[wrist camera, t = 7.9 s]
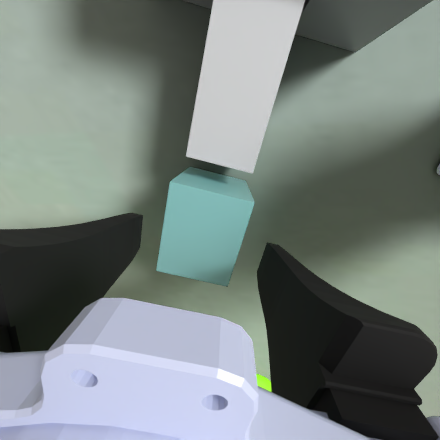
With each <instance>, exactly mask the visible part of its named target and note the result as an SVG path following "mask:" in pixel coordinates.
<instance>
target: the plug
mask: <svg viewBox="0 0 440 440" xmlns="http://www.w3.org/2000/svg"><path fill="white" fill-rule="evenodd" d="M304 2H305V0H213V5H212V11H211V16H210V22H209V28H208V33H207V39H206V45H205V50H204V56H203V62H202V67H201V73H200V79H199V84H198V90H197V96H196V101H195V107H194V113H193V119H192V124H191V130H190V136H189V141H188V147H187V153H186V157H190V158H194V159H198V160H202V161H206V162H210V163H213V164H217V165H221V166H225V167H229V168H233V169H237V170H241V171H245V172H248V173H252V174H253V171H254V168H255V164H256V161H257V158H258V155H259V151H260V148H261V145H262V141H263V138H264V135H265V131H266V128H267V125H268V121H269V118H270V115H271V112H272V108H273V105H274V102H275V98H276V95H277V92H278V88H279V85H280V82H281V78H282V75H283V72H284V69H285V65H286V62H287V59H288V55H289V52H290V49H291V45H292V42H293V39H294V35H295V32H296V29H297V26H298V22H299V19H300V16H301V12H302V9H303V6H304ZM254 204H255V202H254V199H253V197H252V195H251V192H250V190H249V187H248V185H247V183H246V181H245V180H241V179H237V178H233V177H229V176H225V175H221V174H217V173H213V172H210V171H206V170H202V169H198V168H194V167H189V168H187V169H186V170H185V171H183V172H182V173H181V174H179V175H178V176H177V177H175V178H174V179H173V180H171V181H170V185H169V191H168V198H167V204H166V210H165V217H164V223H163V230H162V236H161V243H160V249H159V256H158V262H157V269H156V271H159V272H164V273H168V274H173V275H177V276H182V277H186V278H191V279H195V280H200V281H204V282H209V283H213V284H217V285H222V286H226V287H228V284H229V281H230V278H231V275H232V272H233V269H234V265H235V262H236V259H237V256H238V253H239V250H240V247H241V244H242V241H243V238H244V235H245V231H246V228H247V225H248V222H249V219H250V216H251V213H252V210H253V207H254Z"/></svg>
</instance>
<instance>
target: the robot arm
mask: <svg viewBox="0 0 440 440" xmlns="http://www.w3.org/2000/svg"><path fill="white" fill-rule="evenodd" d="M437 173H438V175H440V164H439V166H438V168H437ZM142 218H143V215H139V214H134V213H128V214H122V215H118V216H114V217H109V218H105V219H101V220H96V221H91V222H87V223H82V224H76V225H69V226H61V227H52V228H37V229H0V440H440V416H431V417H427V418H426V417H425V416H424V415H423V413H422V412H421V410H420V409H419V407H418V406H417V405H421V404H422V399H421V398H420V397H419V395H418V394H417V393H416V391H415V390H414V388H415V387H416V386H417V385H418V384H419V383H420V382H421V381H422V380H423V379H424V377H425V376H426V375H427V374H428V373H429V372H430V371H431V369H432V368H433V367H434V365H435V363H436V359H437V348H436V346H435V345H434V343H433V342H432V341H431V340H430V339H429V338H428V337H427V336H426V335H425V334H424V333H423V332H422V331H421V330H420V329H419V328H418V327H417V326H416V325H414V324H411V323H409V322H406V321H404V320H401V319H399V318H396V317H394V316H391V315H389V314H386V313H384V312H382V311H379V310H377V309H375V308H373V307H371V306H369V305H366V304H364V303H362V302H360V301H358V300H356V299H354V298H352V297H351V296H349V295H347V294H345V293H343V292H341V291H340V290H338V289H336V288H335V287H333V286H331V285H330V284H328V283H327V282H325V281H324V280H322V279H321V278H319V277H318V276H316V275H315V274H314V273H312V272H311V271H310V270H308V269H307V268H306V267H305V266H303V265H302V264H301V263H300V262H298V261H297V260H296V259H295V258H294V257H293V256H291V255H290V254H289V253H288V252H287V251H285V250H284V249H283V248H282V247H280V246H279V245H276V244H271V243H267V245H266V248H265V250H264V253H263V256H262V259H261V262H260V265H259V268H258V271H257V280H258V289H259V294H260V299H261V304H262V308H263V313H264V318H265V323H266V329H267V338H268V348H269V360H270V374H271V392H270V391H268V390H266V389H264V388H262V387H259V386H258V385H257V377H256V368H255V359H254V350H253V341H252V339H251V338H250V337H249V335H248V334H247V333H246V331H245V330H244V329H243V328H242V326H240V325H238V324H235V323H233V322H231V321H228V320H226V319H224V318H221V317H217V316H212V315H207V314H202V313H197V312H192V311H187V310H183V309H178V308H173V307H168V306H163V305H158V304H153V303H148V302H143V301H138V300H133V299H128V298H103V296H104V295H105V294H106V292H107V291H108V290H109V288H110V287H111V286H112V285H113V284H114V282H115V281H116V280H117V279H118V277H119V276H120V275H121V274H122V273H123V271H124V270H125V269H126V268H127V266H128V265H129V264H130V263H131V261H132V260H133V258H134V257H135V255H136V253H137V252H138V250H139V248H140V242H141V230H142Z"/></svg>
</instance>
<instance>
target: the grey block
mask: <svg viewBox="0 0 440 440" xmlns="http://www.w3.org/2000/svg"><path fill="white" fill-rule="evenodd" d="M182 1H186V2H189V3H192V4H196V5H199V6H202V7H206V8H209V9H212V5H213V0H182ZM431 1H433V0H305V2H304V6H303V9H302V12H301V16H300V19H299V22H298V26H297V29H296V32H295V34H296V35H299V36H302V37H306V38H309V39H312V40H316V41H319V42H322V43H326V44H329V45H332V46H336V47H339V48H342V49H346V50H349V51H352V52H357V51H358V50H360V49H361V48H363V47H364V46H366V45H367V44H369V43H370V42H372V41H373V40H375V39H376V38H378V37H379V36H381V35H382V34H384V33H385V32H386V31H388V30H389V29H391V28H392V27H394V26H395V25H397V24H398V23H400V22H401V21H403V20H404V19H406V18H407V17H409V16H410V15H412V14H413V13H415V12H416V11H418V10H419V9H421V8H422V7H424V6H425V5H427V4H428V3H430V2H431Z"/></svg>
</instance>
